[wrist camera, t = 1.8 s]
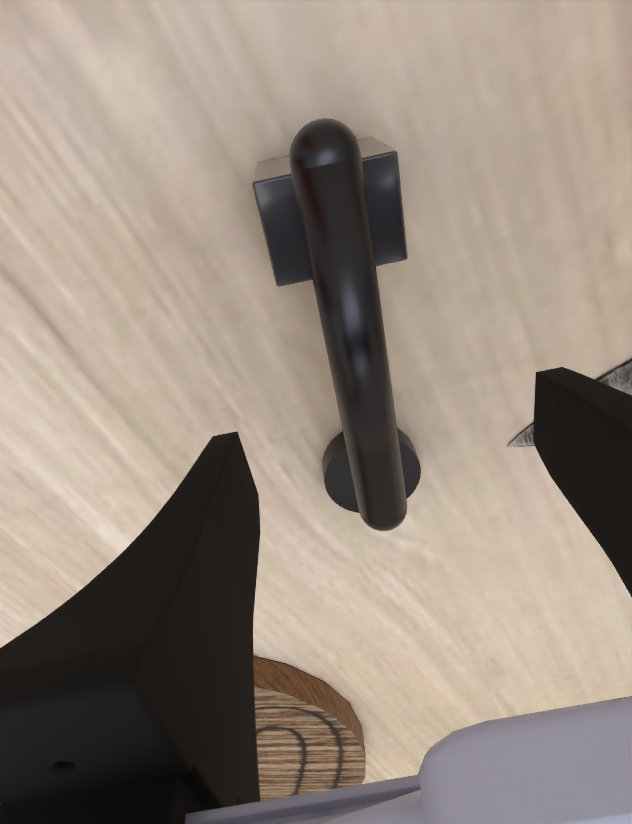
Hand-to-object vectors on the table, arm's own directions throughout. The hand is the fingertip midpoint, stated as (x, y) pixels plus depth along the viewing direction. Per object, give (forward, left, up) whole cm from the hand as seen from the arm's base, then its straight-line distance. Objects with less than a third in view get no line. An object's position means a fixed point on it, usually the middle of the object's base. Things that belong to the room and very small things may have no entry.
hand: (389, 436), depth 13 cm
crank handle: (-1, +1, -9) cm, 9 cm away
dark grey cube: (+3, -3, -9) cm, 10 cm away
